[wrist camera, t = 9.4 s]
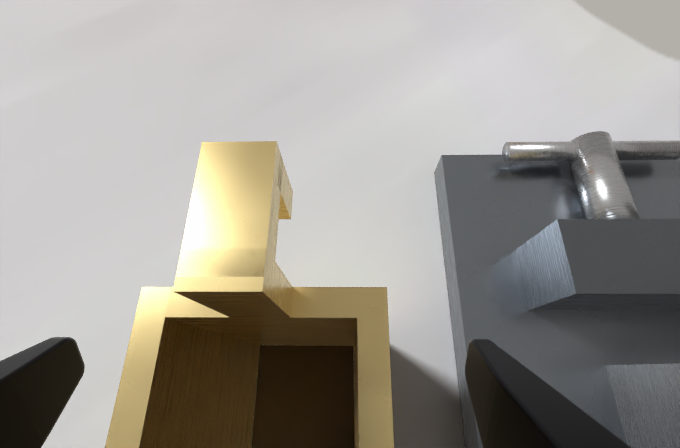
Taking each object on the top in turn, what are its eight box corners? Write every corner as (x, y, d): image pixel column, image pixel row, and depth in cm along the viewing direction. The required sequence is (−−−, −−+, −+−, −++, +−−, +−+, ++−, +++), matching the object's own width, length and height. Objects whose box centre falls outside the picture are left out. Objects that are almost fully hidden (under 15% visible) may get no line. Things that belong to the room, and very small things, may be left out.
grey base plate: (974, 833, 9) (1619, 1309, 4) (506, 813, 9) (657, 1236, 5) (683, 170, 17) (809, 95, 12) (434, 172, 17) (465, 100, 13)
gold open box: (371, 476, 12) (443, 830, 3) (232, 474, 13) (-147, 804, 3) (367, 287, 15) (396, 140, 5) (252, 287, 15) (85, 143, 6)
